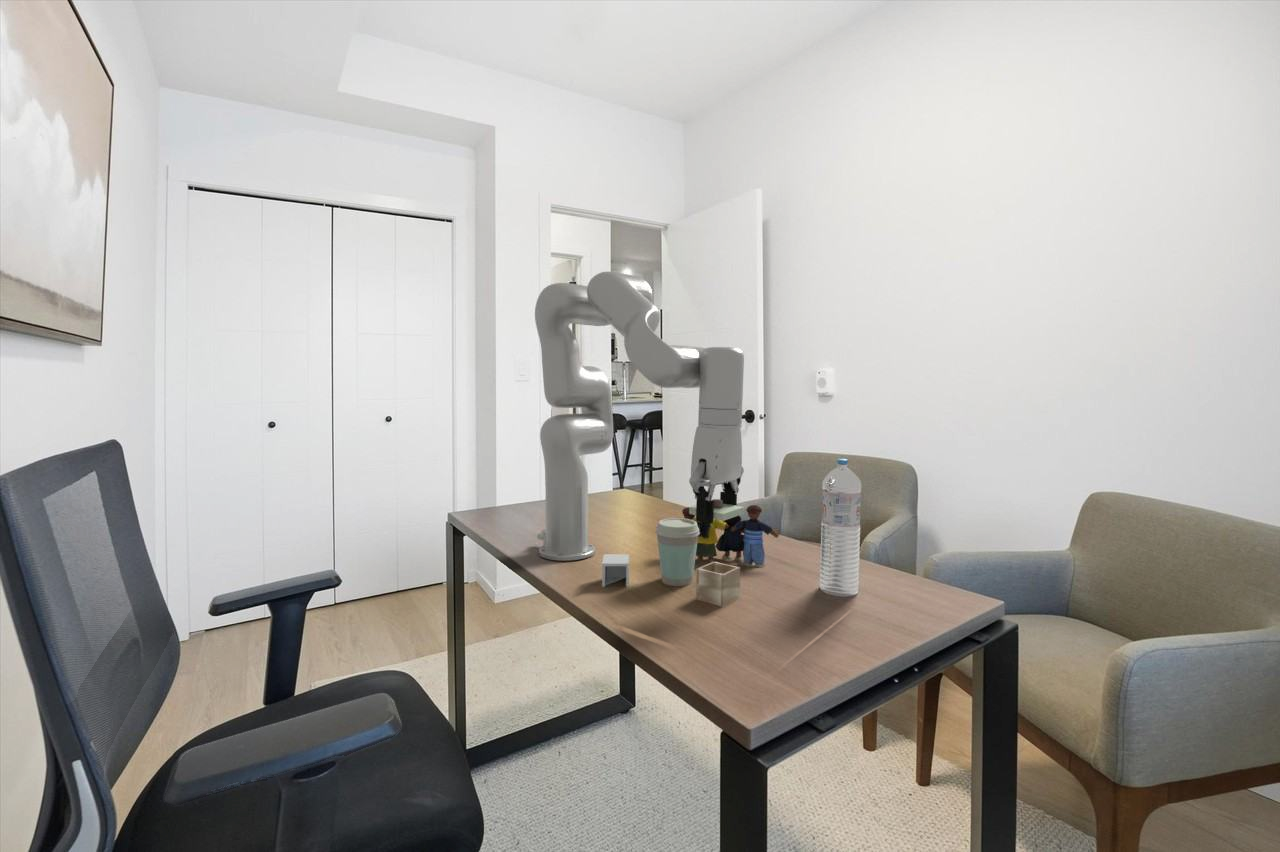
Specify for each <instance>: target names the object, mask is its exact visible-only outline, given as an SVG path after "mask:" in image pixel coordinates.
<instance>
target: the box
mask: <svg viewBox="0 0 1280 852" xmlns="http://www.w3.org/2000/svg"><path fill="white" fill-rule="evenodd" d="M695 580H696V587H695V589H696V590H695V591H696V594H695V595H696V597H695V599H696V600H698V601H701V602H704V603H709V604H712V605H716V606H719V607H722V608H723V607H725V606H728V605H730V604H731V603H733V602H735V601H737V600H738V599H740V598H741V567H740V566H737V565H736V566H735V565H732V564H731V565H730V564H727V563H723V562H722V563H721V562H718V561H715V560H714V561H710V563H707V564H705V565H701V566H700V567H698V568H696V579H695Z"/></svg>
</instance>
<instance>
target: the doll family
mask: <svg viewBox="0 0 1280 852" xmlns="http://www.w3.org/2000/svg"><path fill="white" fill-rule="evenodd" d="M689 507H690V506H687V507H683V509H682V510H681V511H682V515H683V519H690V520H693V521H696V522H697V525H698V528H699V532H700V534H699V535H698V540H697V549H696V557H697V560H698V561H699V562H700V561H703V560H704V559H705V558H707V560H708V562H713V561H714V562H715V558H714V557H717V556H718V554H717V551H719V552H724V553H723V554H722V558H723V559H724V560H731V559H732V554H731V552H733V553H736V554H735V557H734V561H736V562H740V561H743V565H744V566H747V567H752V565H753V564H755V565H754V566H755V567H756V568H761V569H762V568H763V567H765V566H766V563H765V558H766V557H765V556H766V554H765V548H764V540H763V533H765V534H766V535H767V536H768V535H772V536H773V538H776V539H777V538H779V535H780V534H779V532H777V531H775V530H774V528H773V527H772V526H771V525H768V524H766V523H764V522H763V521H760V520H758V519H759V517H760V514H761V513H762V512H763V510H762V508H761V506H759V505H758V504H751V505H749V506H747V508H746V509H745V511H746V512H747V515H748V517H749V518H750V519H744V520H742V517H741V515H739V516H736V517H733V518H730V519H727V520H724V521H721V520H717V519H713V523H711V524H708V523H703V522H698V521H697V520H696V515H693V514H689ZM716 530H721V532H722V530H723V534H721V535H720V536H719V538H718V537H717V533H716Z"/></svg>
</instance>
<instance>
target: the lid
mask: <svg viewBox="0 0 1280 852" xmlns="http://www.w3.org/2000/svg"><path fill="white" fill-rule="evenodd" d="M711 500H712V501H714V512H713V519H717V520H720V521H722V522H723V521H724V520H727V519H730V518H733V517H736V516H742V515H744V514H745V506H740V505H737V506H736V505H730V504H724V503H723V500H720V498H717V499H716V498H712V499H711ZM688 507H689V514H693V515H695V516H696V504H695V505H692V506H688Z"/></svg>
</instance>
